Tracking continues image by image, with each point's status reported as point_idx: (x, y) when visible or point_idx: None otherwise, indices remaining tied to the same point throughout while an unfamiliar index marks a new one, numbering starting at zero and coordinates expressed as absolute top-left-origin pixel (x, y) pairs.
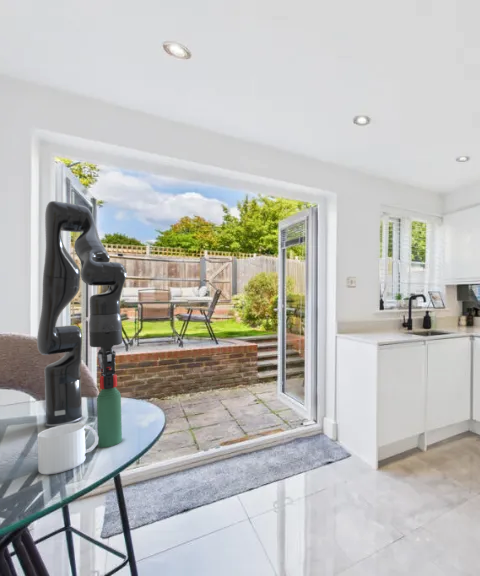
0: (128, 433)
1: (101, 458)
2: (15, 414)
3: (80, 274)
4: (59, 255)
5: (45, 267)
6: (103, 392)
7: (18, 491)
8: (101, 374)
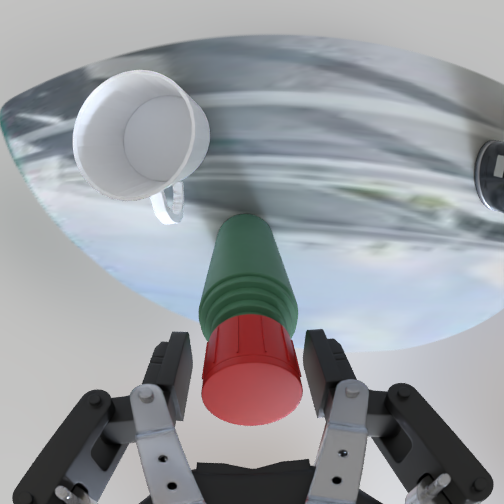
0: None
1: (145, 215)
2: None
3: None
4: None
5: None
6: (221, 314)
7: (90, 79)
8: (323, 374)
